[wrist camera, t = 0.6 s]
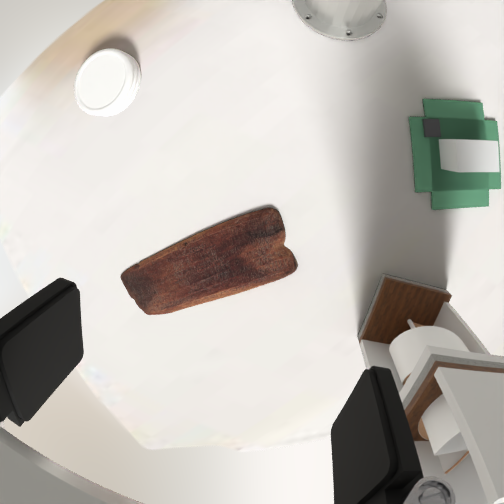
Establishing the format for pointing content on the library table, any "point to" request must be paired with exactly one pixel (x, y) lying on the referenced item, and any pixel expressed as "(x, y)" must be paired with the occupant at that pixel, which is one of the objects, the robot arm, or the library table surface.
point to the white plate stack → (107, 82)
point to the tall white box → (441, 385)
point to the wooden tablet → (213, 264)
